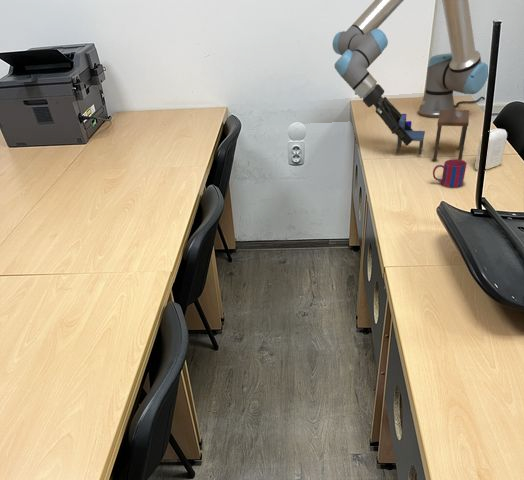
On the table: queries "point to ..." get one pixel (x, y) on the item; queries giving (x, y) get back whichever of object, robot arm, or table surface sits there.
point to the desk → (452, 120)
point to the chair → (413, 134)
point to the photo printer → (494, 148)
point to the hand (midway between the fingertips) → (410, 139)
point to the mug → (452, 173)
